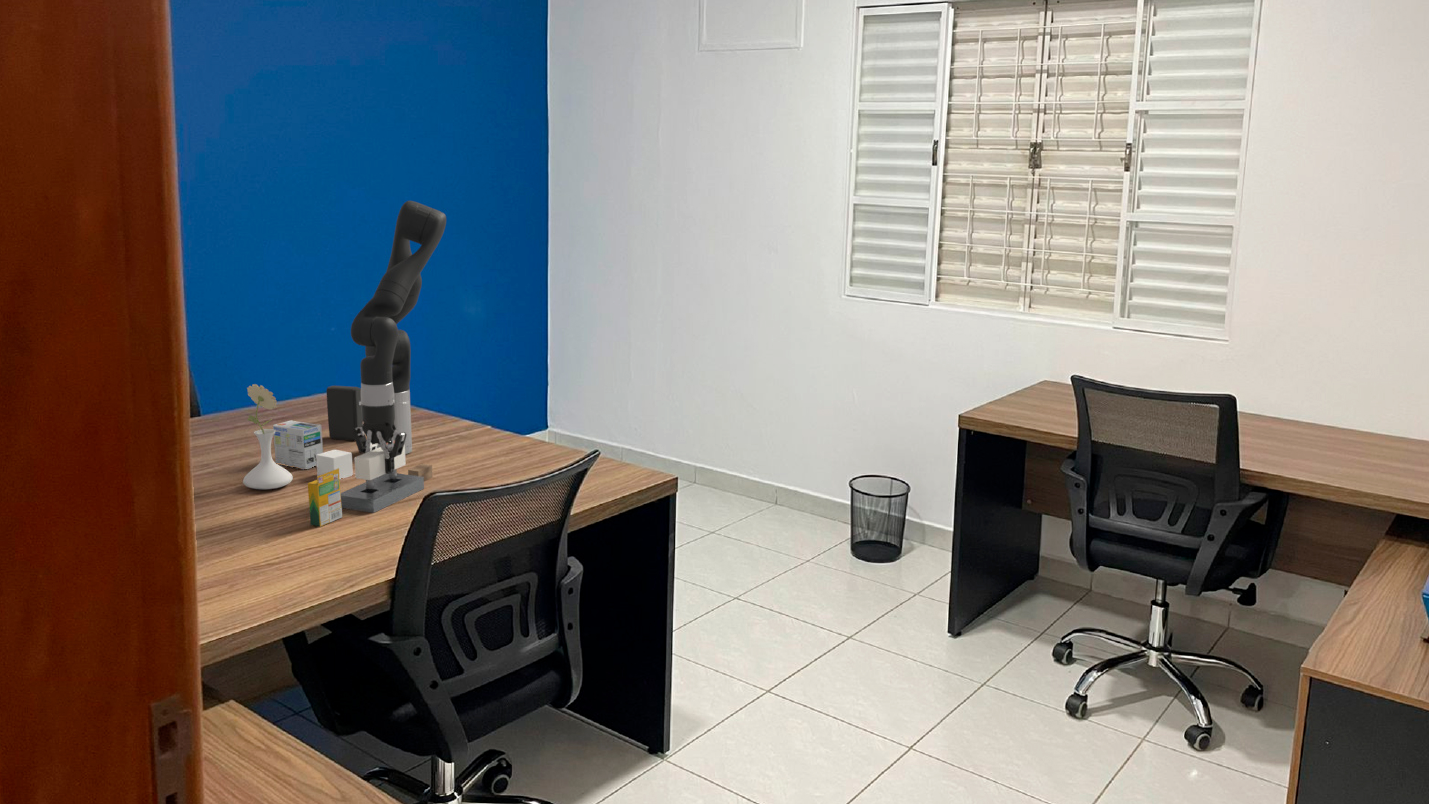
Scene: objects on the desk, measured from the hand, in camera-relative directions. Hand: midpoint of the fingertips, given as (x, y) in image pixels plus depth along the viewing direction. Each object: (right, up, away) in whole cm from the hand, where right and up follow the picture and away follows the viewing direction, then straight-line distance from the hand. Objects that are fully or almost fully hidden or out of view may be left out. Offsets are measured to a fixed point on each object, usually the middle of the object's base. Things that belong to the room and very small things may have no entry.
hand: (381, 471), depth 271 cm
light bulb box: (-29, 0, +27) cm, 40 cm away
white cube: (-17, -3, +18) cm, 24 cm away
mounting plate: (0, -6, +1) cm, 6 cm away
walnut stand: (+5, -3, +16) cm, 17 cm away
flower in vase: (-30, -4, +9) cm, 32 cm away
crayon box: (-8, -10, -16) cm, 20 cm away
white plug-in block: (0, -3, +1) cm, 3 cm away
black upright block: (-25, +6, +52) cm, 58 cm away
